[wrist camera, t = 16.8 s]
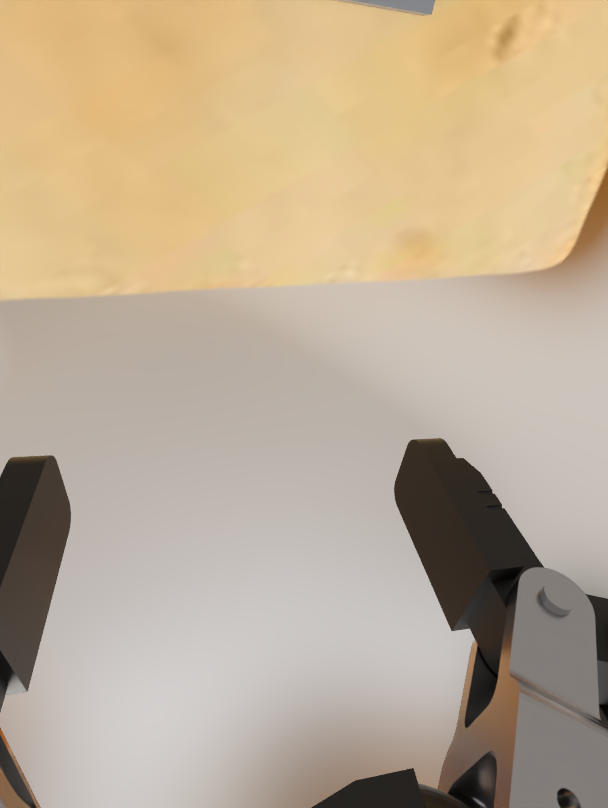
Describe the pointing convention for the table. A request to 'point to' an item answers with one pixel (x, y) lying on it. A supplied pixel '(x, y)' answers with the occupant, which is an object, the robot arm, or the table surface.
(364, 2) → the pin tray
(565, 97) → the table surface
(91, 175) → the table surface
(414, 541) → the robot arm
